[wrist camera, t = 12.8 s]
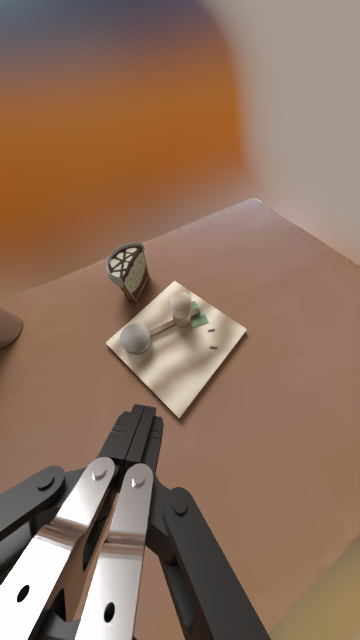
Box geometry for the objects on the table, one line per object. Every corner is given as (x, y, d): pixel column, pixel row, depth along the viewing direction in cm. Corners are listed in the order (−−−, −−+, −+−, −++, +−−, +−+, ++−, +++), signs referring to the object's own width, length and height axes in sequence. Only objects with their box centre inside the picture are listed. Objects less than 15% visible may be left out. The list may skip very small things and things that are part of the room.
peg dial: (129, 359, 35) (114, 347, 28) (120, 336, 38) (104, 319, 30) (205, 321, 39) (209, 301, 31) (192, 302, 41) (193, 279, 34)
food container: (131, 267, 49) (119, 237, 40) (150, 271, 48) (142, 241, 39) (112, 301, 44) (93, 275, 35) (133, 306, 43) (119, 280, 34)
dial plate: (107, 344, 38) (105, 342, 37) (174, 283, 46) (174, 280, 45) (179, 418, 31) (179, 418, 30) (245, 331, 39) (247, 329, 37)
